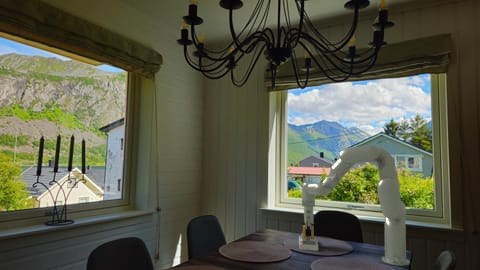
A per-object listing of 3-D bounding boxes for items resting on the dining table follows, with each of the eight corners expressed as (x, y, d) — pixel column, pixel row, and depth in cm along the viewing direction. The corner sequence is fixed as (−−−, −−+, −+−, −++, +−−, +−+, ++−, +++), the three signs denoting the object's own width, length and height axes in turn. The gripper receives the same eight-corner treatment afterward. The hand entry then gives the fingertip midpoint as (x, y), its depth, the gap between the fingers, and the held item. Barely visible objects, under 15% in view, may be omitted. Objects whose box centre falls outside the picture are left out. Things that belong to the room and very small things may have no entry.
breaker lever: (313, 241, 181) (313, 226, 182) (303, 240, 182) (303, 226, 183) (313, 240, 183) (313, 225, 184) (302, 239, 184) (302, 225, 185)
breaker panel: (318, 250, 173) (318, 241, 173) (299, 249, 175) (299, 240, 175) (315, 241, 193) (315, 233, 193) (298, 240, 194) (299, 232, 195)
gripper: (315, 205, 176) (315, 239, 174) (314, 202, 192) (313, 232, 190) (302, 205, 177) (302, 238, 176) (301, 201, 193) (301, 232, 191)
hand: (308, 235), depth 183 cm, fingers closed on breaker lever, 2 cm apart
